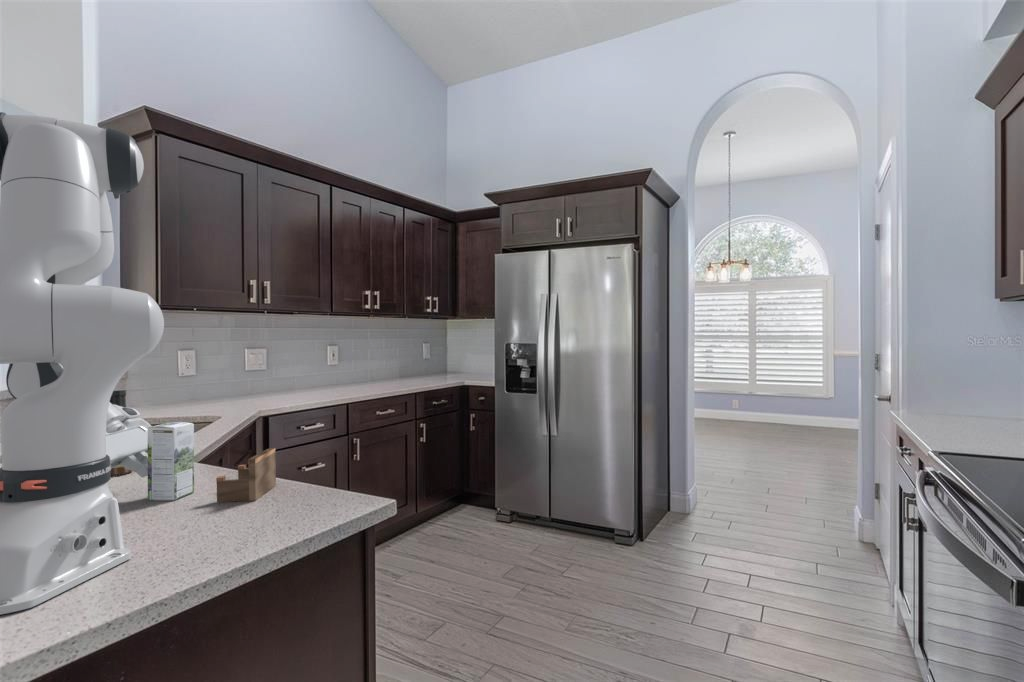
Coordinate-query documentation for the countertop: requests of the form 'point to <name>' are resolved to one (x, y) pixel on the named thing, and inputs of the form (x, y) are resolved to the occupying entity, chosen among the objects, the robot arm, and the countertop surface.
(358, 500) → the countertop surface
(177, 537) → the countertop surface
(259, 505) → the countertop surface
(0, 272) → the robot arm
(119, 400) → the sauce bottle
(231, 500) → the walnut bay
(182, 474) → the syrup box
